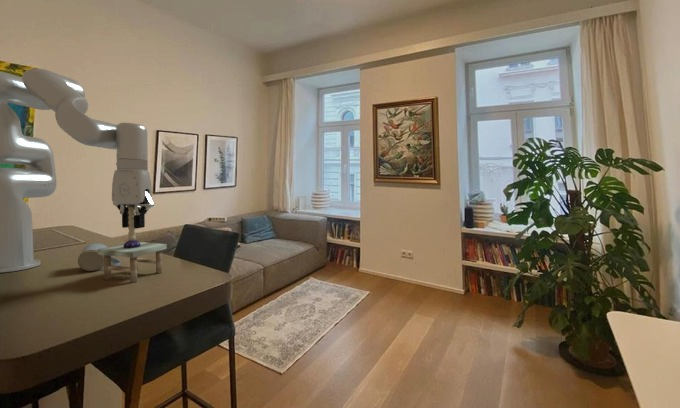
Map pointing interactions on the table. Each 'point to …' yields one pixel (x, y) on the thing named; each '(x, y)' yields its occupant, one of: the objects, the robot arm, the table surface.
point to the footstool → (132, 258)
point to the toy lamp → (131, 229)
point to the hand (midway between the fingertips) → (133, 226)
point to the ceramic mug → (94, 258)
